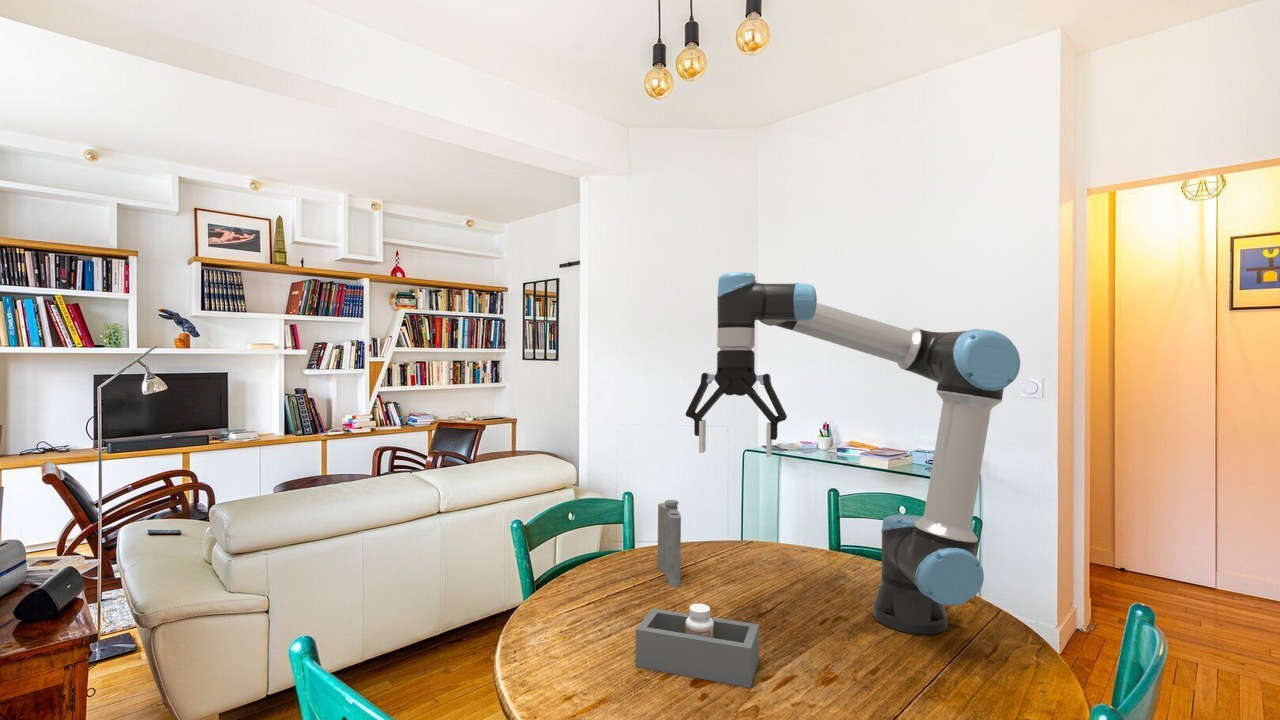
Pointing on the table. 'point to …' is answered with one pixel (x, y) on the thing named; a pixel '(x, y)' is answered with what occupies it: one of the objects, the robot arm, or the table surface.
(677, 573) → the hip flask
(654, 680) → the table surface
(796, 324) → the robot arm
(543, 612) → the table surface
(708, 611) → the supplement bottle
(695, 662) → the tray
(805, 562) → the table surface
